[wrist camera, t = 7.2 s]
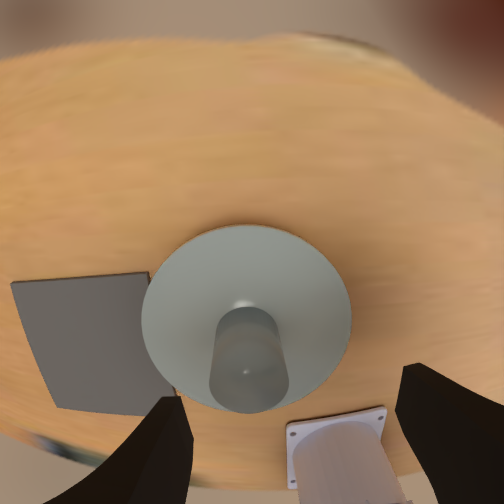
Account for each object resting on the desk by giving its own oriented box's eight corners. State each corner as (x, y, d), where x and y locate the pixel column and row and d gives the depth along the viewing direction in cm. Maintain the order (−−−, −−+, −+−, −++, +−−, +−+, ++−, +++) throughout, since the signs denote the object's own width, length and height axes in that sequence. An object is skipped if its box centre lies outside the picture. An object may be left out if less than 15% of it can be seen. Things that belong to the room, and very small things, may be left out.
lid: (338, 395, 17) (360, 452, 13) (163, 403, 17) (147, 462, 13) (352, 220, 15) (397, 243, 10) (132, 230, 15) (88, 257, 10)
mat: (181, 413, 21) (180, 416, 21) (58, 404, 21) (57, 407, 20) (148, 271, 18) (146, 273, 18) (13, 281, 18) (9, 283, 18)
